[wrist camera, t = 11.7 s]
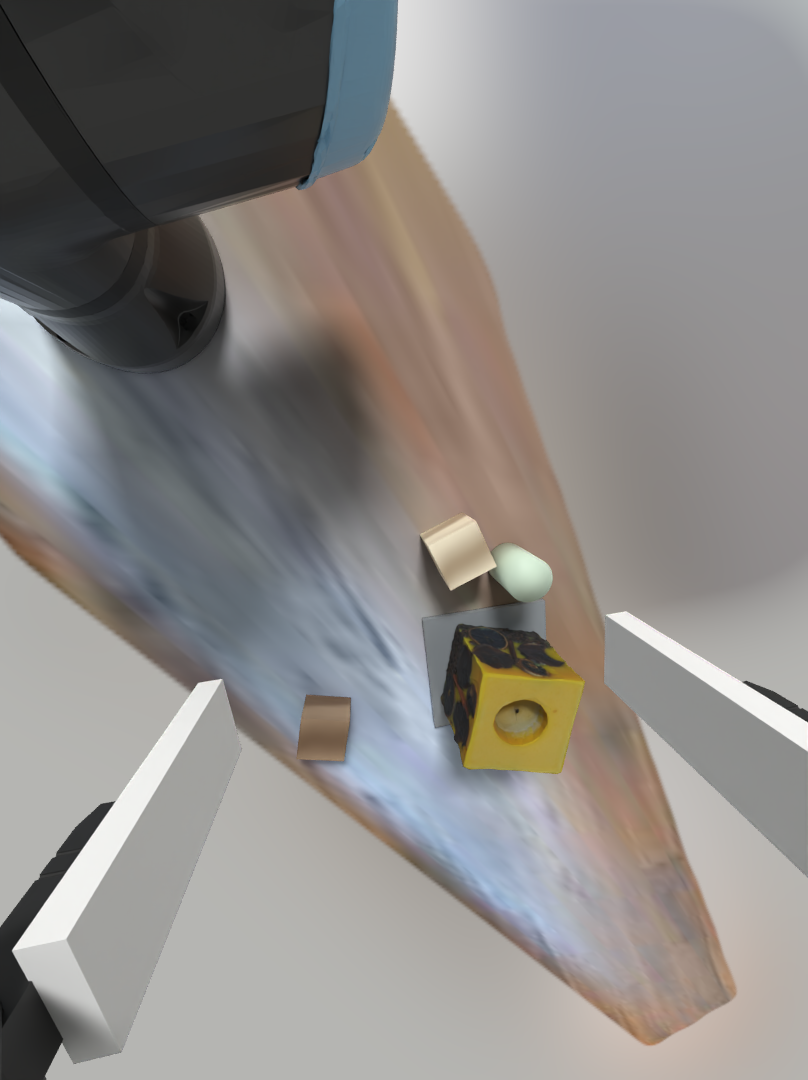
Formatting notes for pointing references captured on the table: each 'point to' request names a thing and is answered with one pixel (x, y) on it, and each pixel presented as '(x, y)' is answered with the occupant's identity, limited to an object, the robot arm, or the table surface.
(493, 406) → the table surface
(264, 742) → the table surface
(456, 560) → the maple block
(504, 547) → the sage capsule
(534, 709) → the candle
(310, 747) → the walnut block
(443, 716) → the coaster
